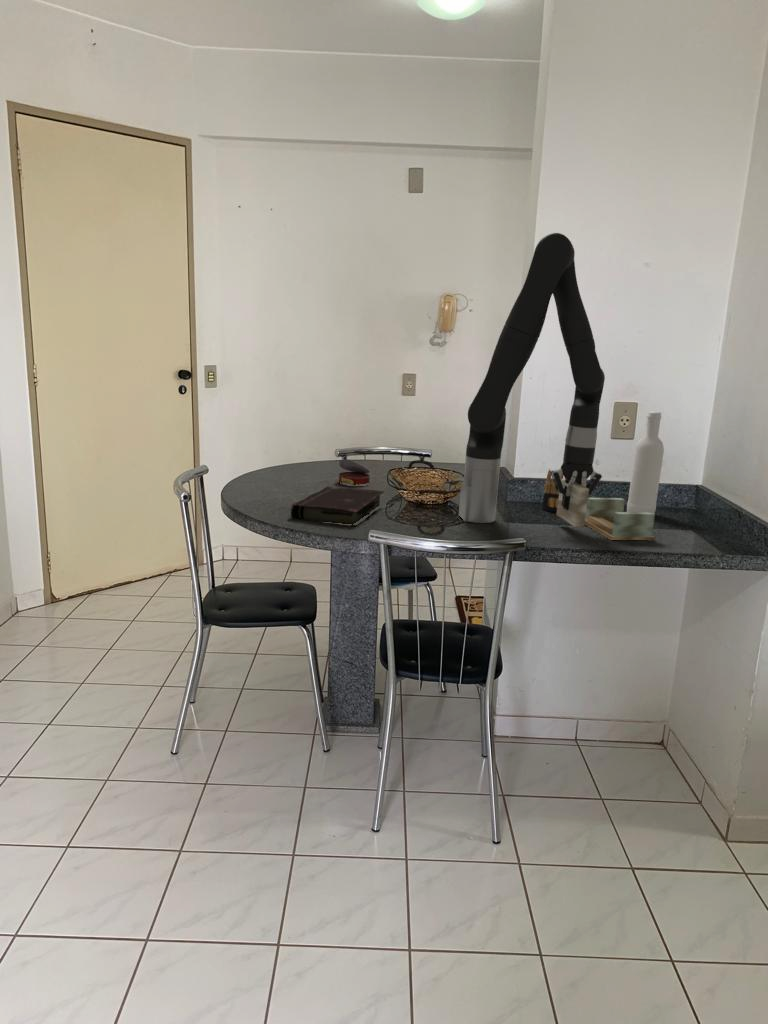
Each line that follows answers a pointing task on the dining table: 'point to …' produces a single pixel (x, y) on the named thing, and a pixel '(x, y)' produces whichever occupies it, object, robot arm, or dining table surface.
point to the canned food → (353, 473)
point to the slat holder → (618, 520)
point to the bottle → (646, 468)
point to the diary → (337, 505)
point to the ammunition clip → (550, 495)
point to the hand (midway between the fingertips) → (571, 509)
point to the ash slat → (574, 505)
